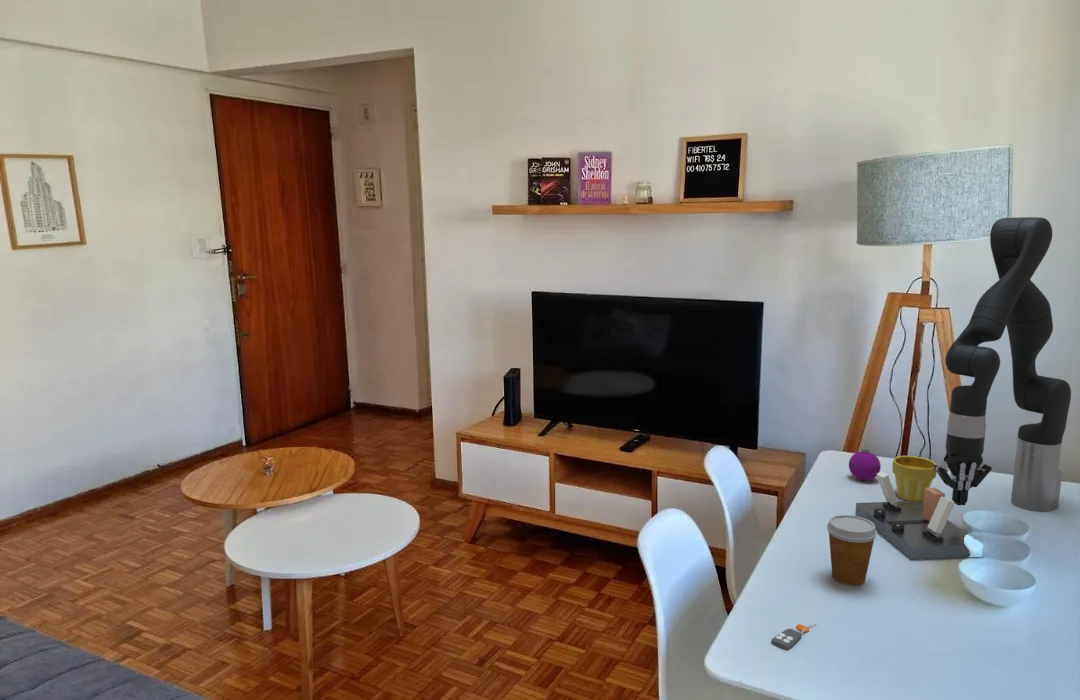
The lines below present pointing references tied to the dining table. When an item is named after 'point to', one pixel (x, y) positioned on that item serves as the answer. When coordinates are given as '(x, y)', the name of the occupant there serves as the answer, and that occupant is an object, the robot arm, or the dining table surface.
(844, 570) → the disposable coffee cup
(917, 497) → the plant pot
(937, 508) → the lever
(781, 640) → the key chain
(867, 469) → the christmas ornament
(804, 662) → the dining table surface
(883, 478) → the lever
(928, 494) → the slider knob
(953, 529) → the panel
